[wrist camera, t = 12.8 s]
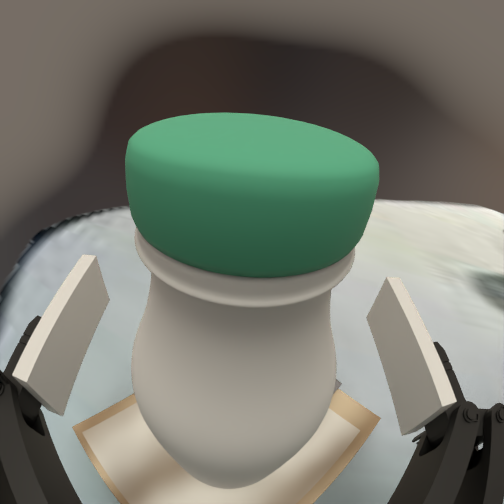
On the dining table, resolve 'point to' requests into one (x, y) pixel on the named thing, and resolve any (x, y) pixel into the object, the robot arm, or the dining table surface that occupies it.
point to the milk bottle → (241, 283)
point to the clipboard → (205, 496)
